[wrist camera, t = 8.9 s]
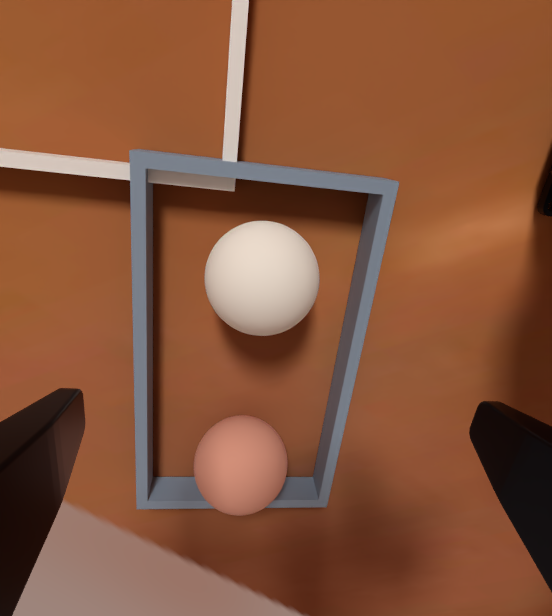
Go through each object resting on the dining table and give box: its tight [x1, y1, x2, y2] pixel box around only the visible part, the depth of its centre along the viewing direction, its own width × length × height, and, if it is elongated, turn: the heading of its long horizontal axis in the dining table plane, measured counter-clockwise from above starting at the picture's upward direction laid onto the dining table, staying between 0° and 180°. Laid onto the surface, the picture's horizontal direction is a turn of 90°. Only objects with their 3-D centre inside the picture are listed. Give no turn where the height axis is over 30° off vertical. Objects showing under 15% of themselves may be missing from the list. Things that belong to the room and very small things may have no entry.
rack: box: [129, 149, 399, 509], centre depth 21 cm, size 11×19×2 cm, turn 174°
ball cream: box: [205, 221, 320, 336], centre depth 18 cm, size 5×5×5 cm
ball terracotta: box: [194, 415, 288, 516], centre depth 22 cm, size 5×5×5 cm
